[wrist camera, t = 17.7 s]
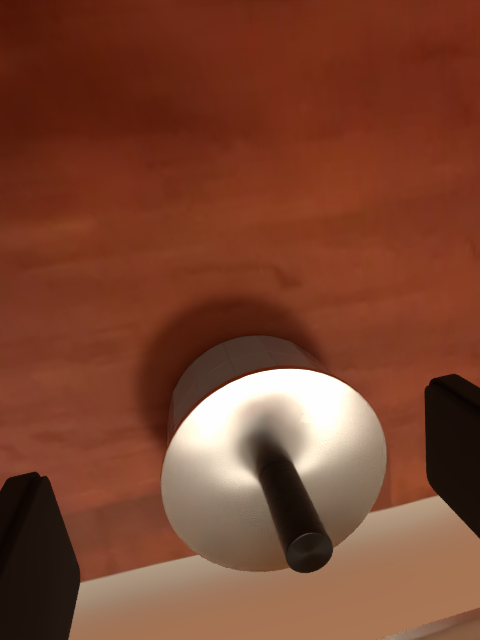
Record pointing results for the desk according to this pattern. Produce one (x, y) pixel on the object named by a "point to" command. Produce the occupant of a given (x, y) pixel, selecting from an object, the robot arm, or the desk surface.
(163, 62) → the desk surface
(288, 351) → the pot
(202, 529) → the lid
